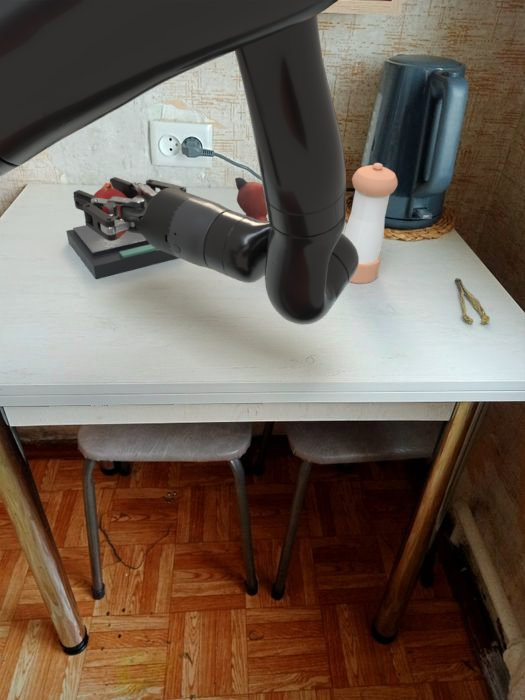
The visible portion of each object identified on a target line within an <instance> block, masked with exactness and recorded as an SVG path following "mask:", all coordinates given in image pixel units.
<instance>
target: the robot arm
mask: <svg viewBox="0 0 525 700" xmlns="http://www.w3.org/2000/svg"><path fill="white" fill-rule="evenodd" d="M337 2H339V0H0V178H1V177H3V176H4V175H6V174H8V173H10V172H12V171H13V170H15V169H16V168H18V167H20V166H22V165H24V164H25V163H27V162H28V161H30V160H32V159H33V158H34V157H36V156H38V155H39V154H42V153H43V151H45V150H47V149H48V148H51V147H52V146H54V145H55V144H57V143H59V142H60V141H62V140H64V139H65V138H66V139H67V137H69V136H71V135H74V134H75V133H77V132H78V131H81V130H82V129H85V128H86V127H88V126H90V125H91V124H93V123H95V122H97V121H98V120H100V119H103V118H104V117H106V116H108V115H109V114H111V113H113V112H115V111H117V110H119V109H120V108H122V107H124V106H126V105H127V104H129V103H131V102H133V101H134V100H136V99H137V98H139V97H141V96H143V95H144V94H146V93H148V92H150V91H151V90H153V89H155V88H156V87H158V86H160V85H162V84H164V83H165V82H167V81H170V80H172V79H174V78H176V77H178V76H180V75H182V74H184V73H186V72H189V71H192V70H194V69H196V68H197V67H200V66H202V65H205V64H206V63H210V62H212V61H214V60H217V59H218V58H221V57H224V56H226V55H228V54H231V53H234V54H235V57H236V62H237V66H238V69H239V74H240V77H241V81H242V86H243V89H244V90H243V91H244V95H245V99H246V105H247V109H248V113H249V118H250V125H251V129H252V135H253V139H254V145H255V151H256V156H257V163H258V168H259V173H260V180H261V184H262V186H263V192H264V197H265V203H266V208H267V220H268V221H259V220H257V219H254V218H251V217H249V216H246V214H243V213H240V212H237V211H234V210H232V209H229V208H227V207H226V206H224V205H222V204H220V203H218V202H215V201H212V200H209V199H207V198H205V197H204V198H203V197H201V196H198V195H196V194H192V193H189V192H187V187H186V186H183V185H177V184H173V183H168V182H165V181H161V180H156V179H152V178H151V179H146V180H145V183H144V184H143V183H142V182H141V181H134V182H131V181H128V180H125V179H122V178H120V177H117V176H115V177H114V176H113V177H111V178H110V179H109V182H111V184H112V186H113V188H115V189H117V190H119V191H120V192H122V193H123V194H124V195H125V196H126V197H127V198H123V197H116V196H113V197H112V198H110V199H103V198H97V197H96V196H94V194H91V193H88V192H86V191H84V190H81V189H78V190H75V191H73V202H74V206H75V208H76V209H77V210H80V211H82V212H83V214H84V215H83V216H84V223H85V225H86V226H88V227H89V228H91V229H92V230H94V231H95V232H96V233H98V234H99V235H101V236H102V237H104V238H105V239H107V240H109V241H114V240H116V239H117V234H116V233H118V232H121V231H124V230H127V231H128V232H131V233H139V234H142V235H143V236H144V237H145V239H146V240H147V241H148V242H149V243H150V245H152V246H153V247H154V248H157V249H159V250H161V251H164V252H166V253H168V254H171V255H173V256H176V257H178V258H177V259H181V260H183V261H185V262H188V263H190V264H192V265H195V266H197V267H201V268H206V269H209V270H212V271H215V272H217V273H219V274H222V275H224V276H227V277H229V278H231V279H234V280H236V281H238V282H241V283H247V284H252V283H256V282H257V281H260V280H262V279H263V278H264V285H265V291H266V294H267V298H268V300H269V302H270V304H271V305H272V308H273V309H274V310H275V311H276V313H277V314H278V315H280V316H281V317H282V319H284V320H286V321H287V322H289V323H293V324H296V325H304V326H305V325H308V326H309V325H313V324H314V323H317V322H319V321H321V320H322V319H324V318H325V317H326V316H327V314H329V312H330V310H332V308H333V306H334V305H335V304H336V302H337V300H338V299H339V297H340V296H341V295H342V293H343V291H344V290H345V289H346V288H347V286H348V284H349V283H350V282H349V281H350V280H351V279H352V277H353V276H354V274H355V272H356V270H357V268H358V264H359V257H358V253H357V250H356V248H355V246H354V245H353V243H352V242H351V241H350V240H349V239H348V238H347V237H346V236H345V235H344V230H345V226H346V225H345V224H346V220H347V218H346V217H347V173H346V172H347V171H346V159H345V152H344V146H343V141H342V135H341V131H340V126H339V121H338V117H337V113H336V109H335V106H334V101H333V98H332V93H331V89H330V86H329V82H328V78H327V73H326V68H325V63H324V58H323V52H322V45H321V39H320V30H319V22H318V21H319V19H318V15H319V14H321V13H323V12H324V11H326V10H327V9H328V8H330V7H331V6H333V5H334V4H335V3H337ZM157 189H159V191H157ZM118 205H121V207H120V211H121V218H122V219H121V218H120V216H119V210H118ZM102 206H104V207H107V208H108V211H109V214H107V213H105V212H103V208H102Z"/></svg>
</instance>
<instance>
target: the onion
mask: <svg viewBox="0 0 525 700" xmlns="http://www.w3.org/2000/svg"><path fill="white" fill-rule="evenodd" d="M93 195H94V196H96V197H97V198H103V199H110V198H112V197H113V196H116V197H123V198H127V197H126V196H125V195H124V194H123V193H122V192H120V191H119V190H117V189H115V188H113V186H112V184H111V182H110V181H106V182H105V184H104V185H103V186H102V187H101V188H100V189H98V190H97V191H96V192H94V194H93ZM120 207H121V205H118V210H119V216H120V218H121V211H120ZM102 208H103V212H105V213H107V214H109V211H108V208H107V207H104V206H102ZM121 219H122V218H121ZM126 231H127V230H124V231H121V232H118V233H116V234H117V239H119V238H120V237H121V236H122V235H123V234H124V233H125V232H126ZM117 239H116V240H117Z"/></svg>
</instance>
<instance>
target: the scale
mask: <svg viewBox="0 0 525 700" xmlns="http://www.w3.org/2000/svg"><path fill="white" fill-rule="evenodd" d="M66 236H67V242H68V244H69V245H70V247H71V248H72V250H74V252H75V253H76V255H77V256H78V257H79V259H80V260H81V261H82V263H83V264H84V265H85V266H86V268H87V269H88V271H89V272H90V273H91V275H92V276H93V277H94V278H95V279H96V280H97V279H102V278H105V277H109V276H113V275H117V274H122V273H125V272H129V271H133V270H137V269H140V268H145V267H148V266H152V265H157V264H161V263H165V262H169V261H172V260H176V259H179V258H178V257H176V256H173V255H171V254H168V253H166V252H164V251H161V250H159V249H157V248H154V247H153V246H152V245H150V243H149V242H148V241H147V240H146V239H145V237H144V236H143V235H142V234H139V233H131V232H128V231H126V232H125V233H124V234H123V235H122V236H121V237H120V238H119V239H117V240H114V241H109V240H107V239H105V238H104V237H102V236H101V235H99V234H98V233H96V232H95V231H94V230H92V229H91V228H89V227H88V226H86V224H85V225H80V226H75V227H73V228H72V229H68V230H66Z"/></svg>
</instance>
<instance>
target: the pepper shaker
mask: <svg viewBox="0 0 525 700" xmlns="http://www.w3.org/2000/svg"><path fill="white" fill-rule="evenodd" d="M351 181H352V182H351V183H352V187H353V188H354V189H355V190H354V193H353V194H354V195H353V200H352V205H351V210H350V215H349V218H348V220H347V223H346V225H345V228H344V230H343V234H344V235H345V236H346V237H347V238H348V239H349V240H350V241H351V242H352V243H353V245H354V246H355V248H356V250H357V253H358V257H359V264H358V268H357V270H356V272H355V274H354V276H353V277H352V279H351V280H350V281H349V283H353V284H368V283H371V282H374V281H375V280H376V279H377V276H378V272H379V268H380V264H381V260H382V258H381V249H382V246H383V243H384V238H385V237H384V235H385V221H386V215H387V209H388V206H389V200H390V195H392V194H393V193H394V192H395V190H396V189H397V187H398V186H399V185H398V183H399V182H398V178H397V175H396V173H395V172H394V171H393V170H391V169H389V168H387V167H384V165H383V164H382V163H380V162H375V163H373V164H370V165H365V166H361V167H359V168H358V169H357V170H356V171H355V172H354V174H353V175H352V178H351Z"/></svg>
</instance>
